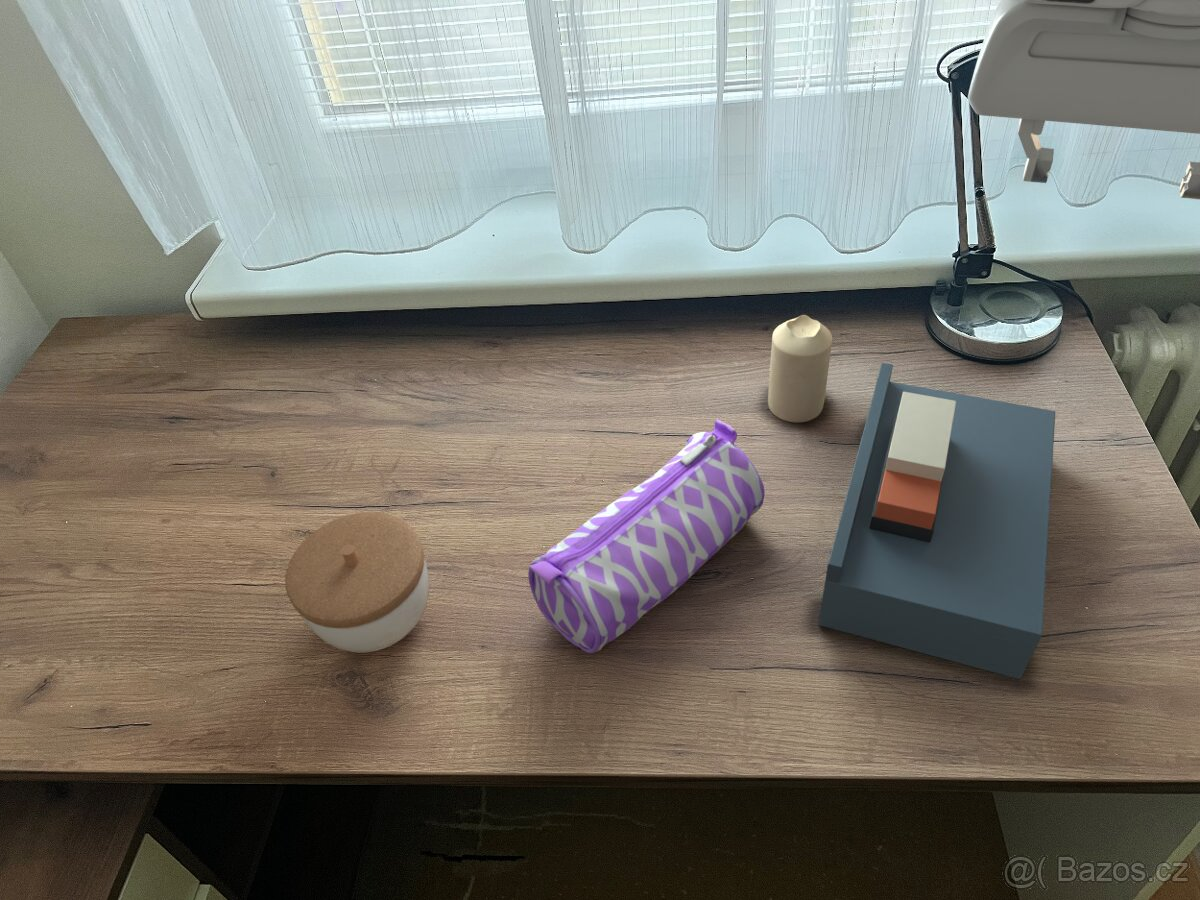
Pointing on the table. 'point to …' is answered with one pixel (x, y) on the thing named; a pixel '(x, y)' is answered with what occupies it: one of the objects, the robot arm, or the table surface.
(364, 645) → the trinket box
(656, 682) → the table surface
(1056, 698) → the table surface
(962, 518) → the grey lipped base tray
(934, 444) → the cream and orange block
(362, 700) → the table surface
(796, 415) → the candle
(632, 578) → the pencil case
